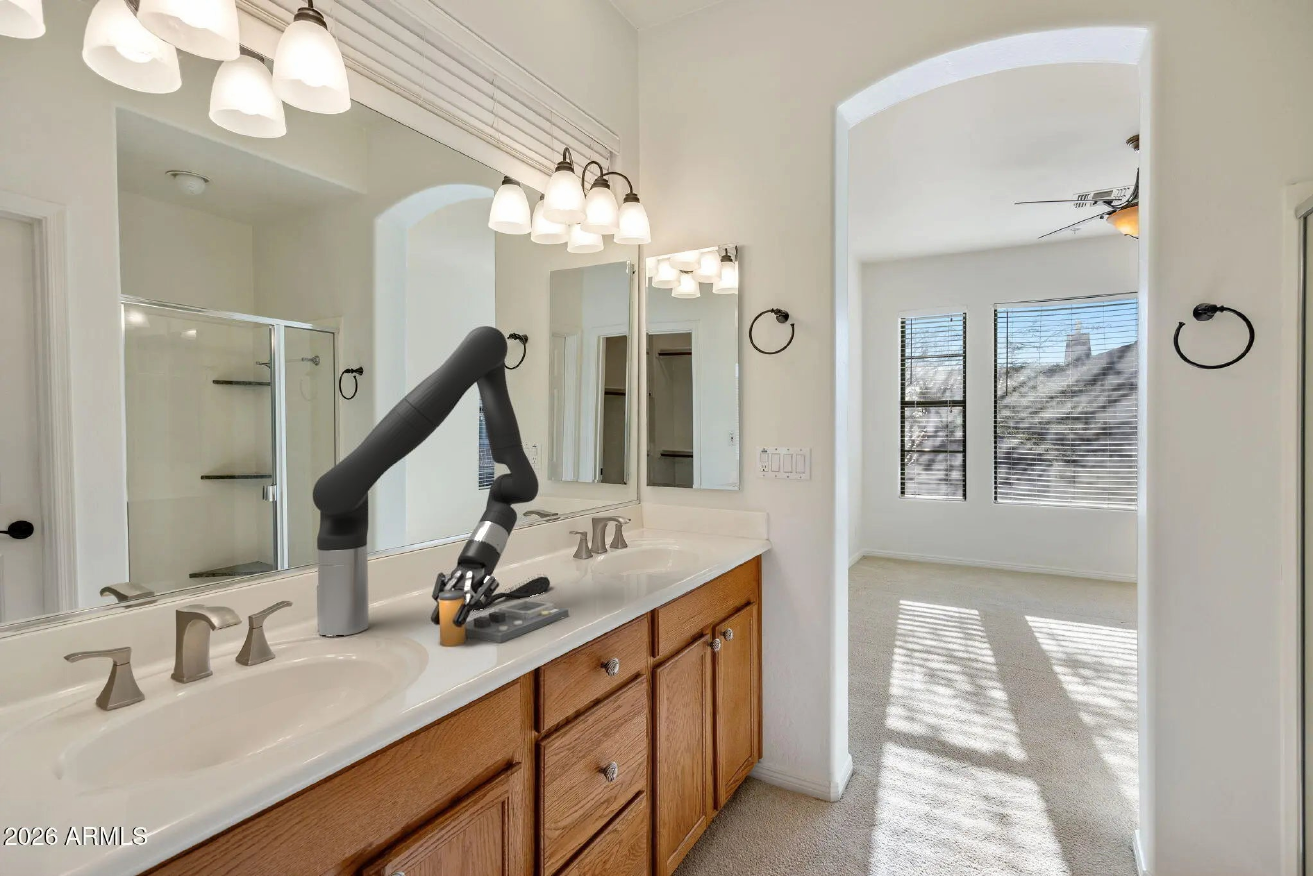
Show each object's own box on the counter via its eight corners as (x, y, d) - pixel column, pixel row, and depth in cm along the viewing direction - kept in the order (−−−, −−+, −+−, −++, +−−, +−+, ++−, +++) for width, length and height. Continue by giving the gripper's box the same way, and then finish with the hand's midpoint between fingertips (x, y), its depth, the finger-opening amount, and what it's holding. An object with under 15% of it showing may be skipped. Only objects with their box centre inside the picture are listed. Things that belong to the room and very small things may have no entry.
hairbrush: (458, 598, 142) (532, 572, 164) (459, 614, 143) (533, 585, 164) (484, 602, 138) (557, 574, 160) (485, 619, 138) (557, 589, 160)
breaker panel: (453, 633, 124) (453, 617, 124) (523, 609, 141) (523, 595, 141) (500, 643, 117) (500, 626, 117) (568, 616, 134) (568, 601, 134)
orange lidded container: (434, 644, 117) (433, 594, 117) (454, 637, 121) (453, 589, 121) (451, 648, 115) (450, 596, 115) (470, 640, 119) (469, 591, 119)
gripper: (447, 536, 128) (404, 611, 116) (505, 539, 122) (467, 616, 111) (464, 557, 133) (425, 630, 121) (521, 560, 127) (486, 637, 116)
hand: (445, 623), depth 116 cm, fingers closed on orange lidded container, 4 cm apart
